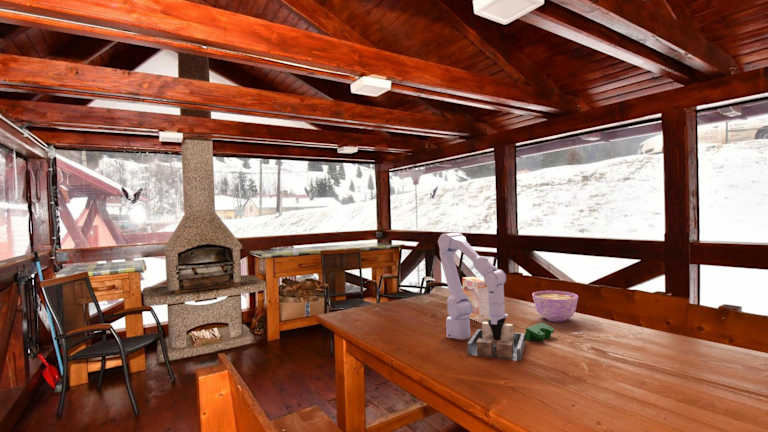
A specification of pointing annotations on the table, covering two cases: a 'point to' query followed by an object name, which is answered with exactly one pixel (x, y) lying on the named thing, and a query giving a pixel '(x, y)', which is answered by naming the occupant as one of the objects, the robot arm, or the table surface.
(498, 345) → the offcut right
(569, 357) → the table surface
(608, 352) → the table surface
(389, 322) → the table surface
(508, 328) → the birch block
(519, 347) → the tray
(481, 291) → the coffeecake box
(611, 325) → the table surface
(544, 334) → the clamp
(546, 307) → the bowl of food
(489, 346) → the offcut left
